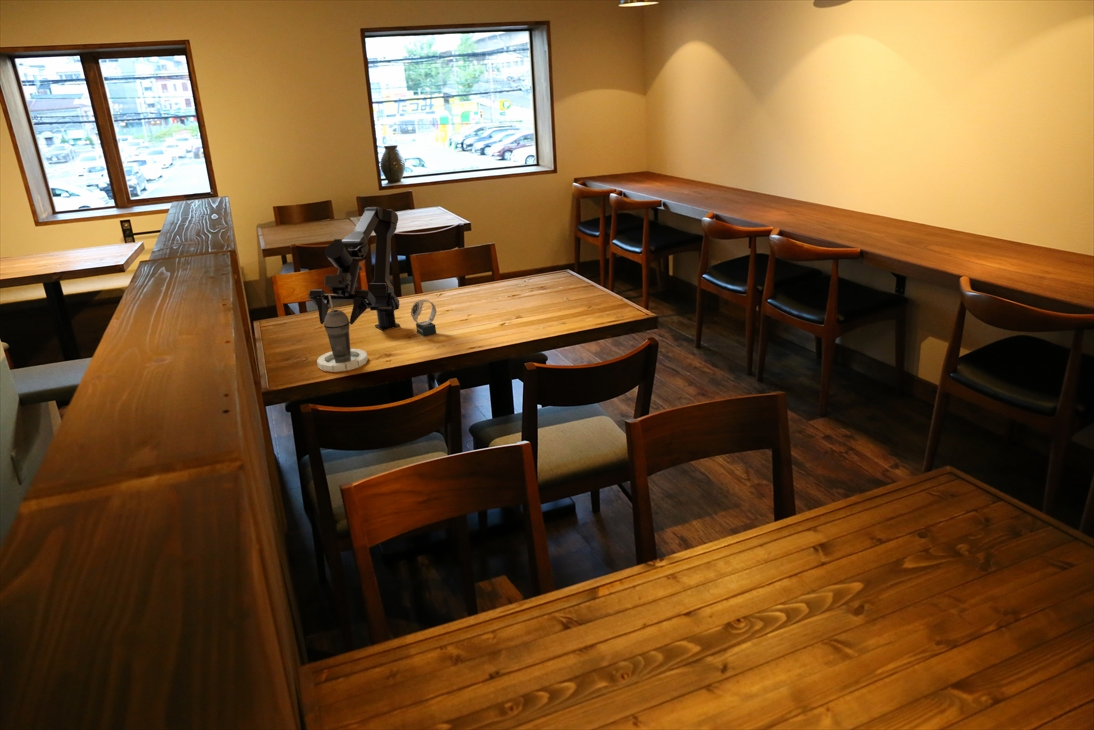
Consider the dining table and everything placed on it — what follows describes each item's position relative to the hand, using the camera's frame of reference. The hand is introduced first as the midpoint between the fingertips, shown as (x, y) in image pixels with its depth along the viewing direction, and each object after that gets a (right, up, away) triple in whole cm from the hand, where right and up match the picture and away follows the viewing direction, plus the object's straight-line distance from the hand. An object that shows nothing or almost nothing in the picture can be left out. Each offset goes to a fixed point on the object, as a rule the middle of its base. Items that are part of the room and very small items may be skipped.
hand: (336, 323), depth 212 cm
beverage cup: (+1, -11, +5) cm, 12 cm away
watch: (+22, -2, +26) cm, 34 cm away
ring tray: (+1, -11, +5) cm, 12 cm away
